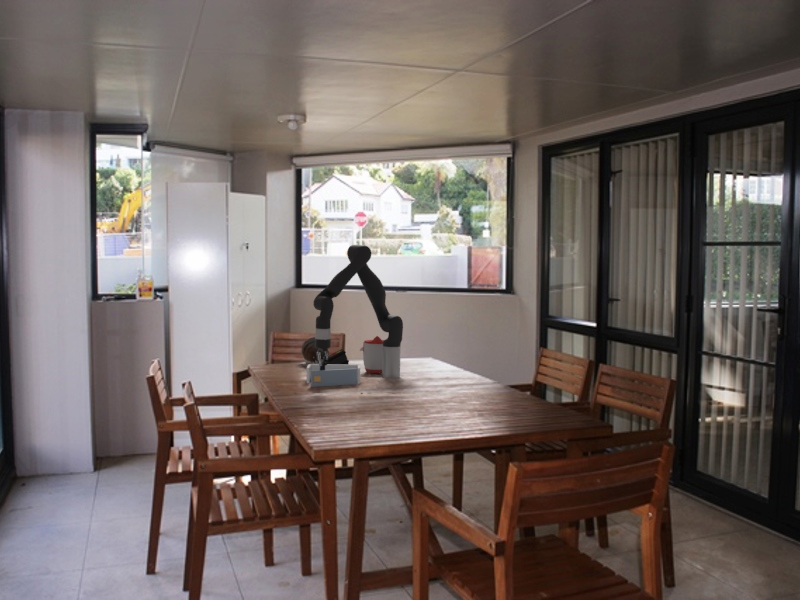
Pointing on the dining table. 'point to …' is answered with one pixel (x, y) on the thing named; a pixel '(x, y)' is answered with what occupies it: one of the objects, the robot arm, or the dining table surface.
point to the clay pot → (310, 351)
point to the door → (333, 377)
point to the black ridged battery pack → (338, 358)
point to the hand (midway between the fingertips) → (322, 373)
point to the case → (332, 367)
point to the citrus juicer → (373, 355)
